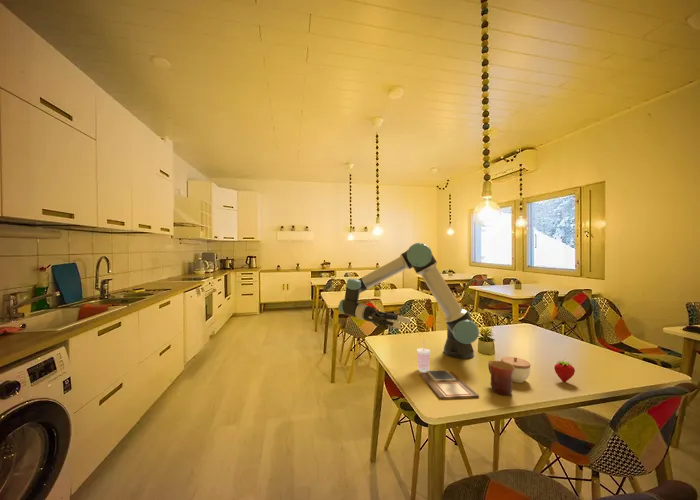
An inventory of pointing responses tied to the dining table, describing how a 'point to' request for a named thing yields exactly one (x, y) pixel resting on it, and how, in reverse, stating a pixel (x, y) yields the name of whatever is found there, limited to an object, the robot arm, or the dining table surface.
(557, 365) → the strawberry
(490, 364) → the mug
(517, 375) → the lidded jar
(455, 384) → the stamp board
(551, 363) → the dining table surface
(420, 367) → the beverage cup
